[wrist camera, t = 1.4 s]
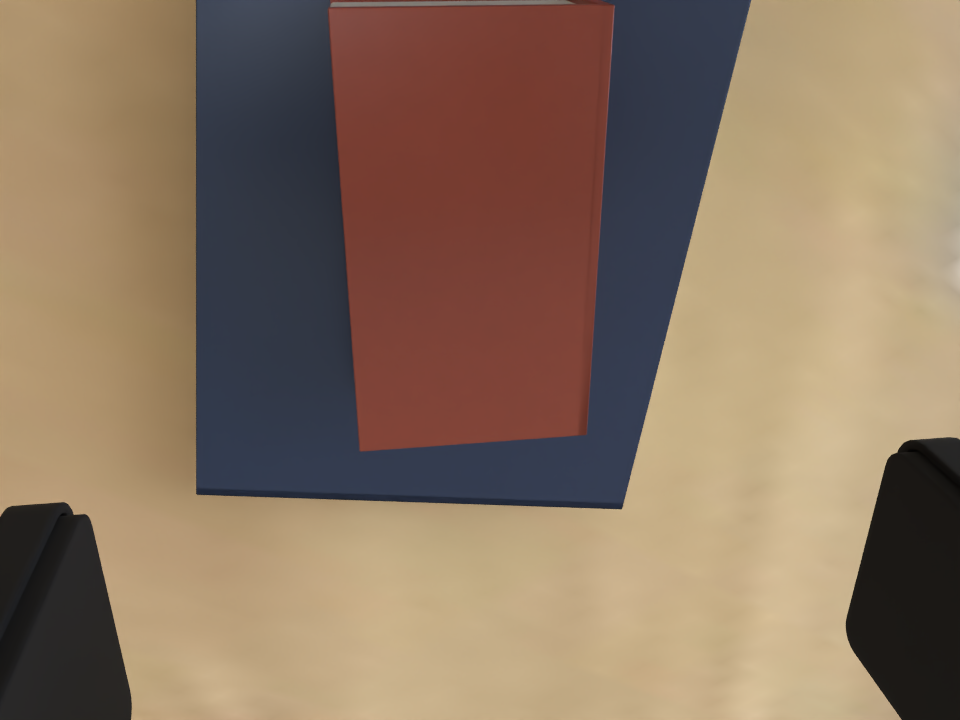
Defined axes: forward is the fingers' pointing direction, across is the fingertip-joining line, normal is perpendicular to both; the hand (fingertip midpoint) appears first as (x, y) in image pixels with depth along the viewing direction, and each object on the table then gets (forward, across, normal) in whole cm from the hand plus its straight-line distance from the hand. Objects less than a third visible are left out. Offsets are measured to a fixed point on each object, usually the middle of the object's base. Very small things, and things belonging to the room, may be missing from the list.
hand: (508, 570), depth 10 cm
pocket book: (+16, -1, 0) cm, 16 cm away
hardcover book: (+18, -1, 0) cm, 18 cm away
